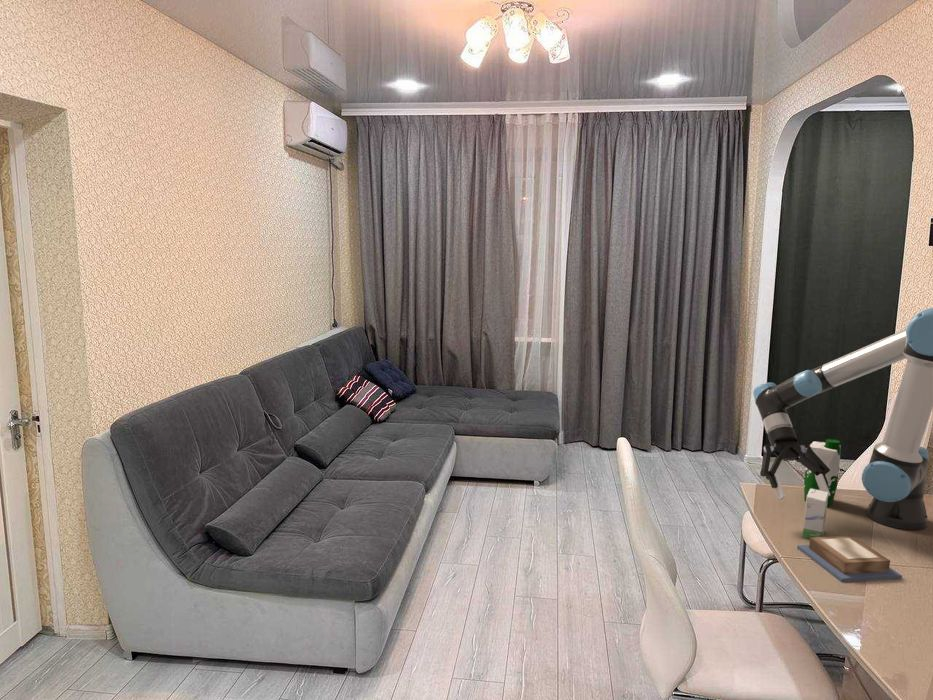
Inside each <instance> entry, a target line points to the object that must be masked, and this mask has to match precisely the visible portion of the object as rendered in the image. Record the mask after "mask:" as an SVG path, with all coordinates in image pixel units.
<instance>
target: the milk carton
mask: <svg viewBox="0 0 933 700" xmlns="http://www.w3.org/2000/svg"><path fill="white" fill-rule="evenodd" d="M809 445H810V447H811V449H812V450H813V452H814V453H815V454H816V455H817V456H818V457H819V458H820V459H821V460H822V461H823V462H824V464H825V465H826V466H827V467H828V468H829V469H830V471H829V472H828V473H827V474H826V475H825V476H826V479H827V481H828V485H827V487H828V490H829V492H830V496H829V497H828V502H827V507H830V506H831V505H832V503H833V502H834V499H835V495H836V491H837V487H838V479H839V470H840V460H841V449H842V448H841V447H842V445H841V441H840V440H839V439H833V438H827V439H825V442H824V441H812V443H810V444H809ZM804 470H805V471H804V472H805V473H804V481H803V482H804V483H803V489H804V490H803V493H804V496H803V497H804V499H803V500H804V502H806V498H807V495H808V492H809V490H810V489H816V490H820V489H819V486H818V484H817V481H816V479H815V478H816V477H817V476H816V475H815V474H814V473H813V472H811V471H810V470H809V469H807V468H806V467H805V469H804Z"/></svg>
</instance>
